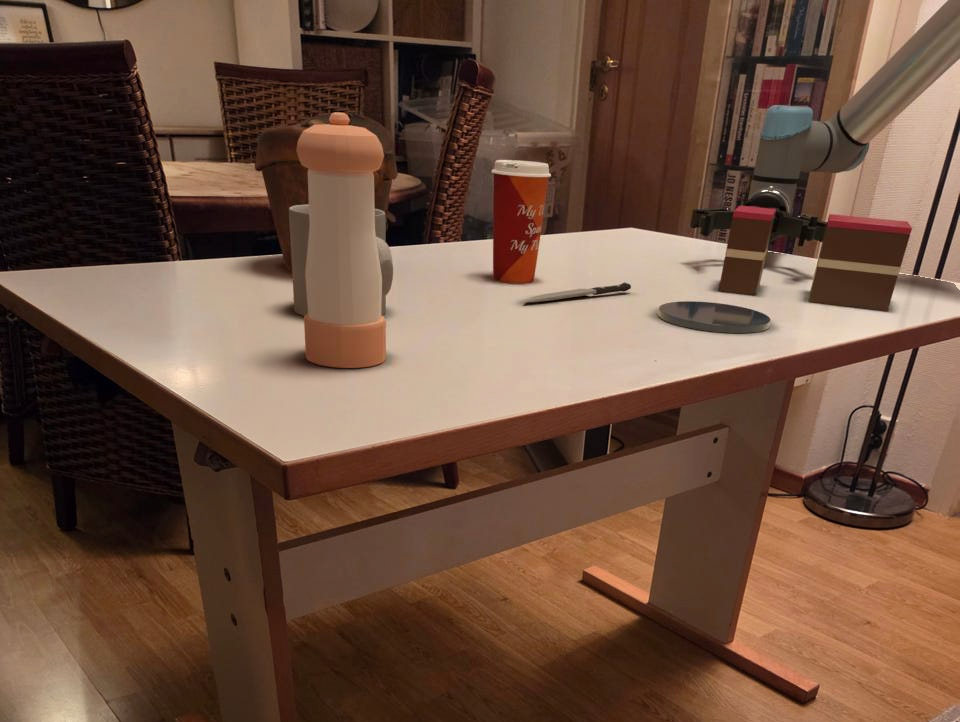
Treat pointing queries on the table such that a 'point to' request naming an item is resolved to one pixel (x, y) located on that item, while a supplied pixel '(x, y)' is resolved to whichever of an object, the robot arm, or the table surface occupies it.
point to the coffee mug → (300, 247)
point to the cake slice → (746, 249)
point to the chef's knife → (580, 292)
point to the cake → (859, 261)
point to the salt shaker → (342, 246)
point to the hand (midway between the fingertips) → (754, 230)
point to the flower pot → (291, 178)
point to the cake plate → (714, 317)
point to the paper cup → (517, 218)
